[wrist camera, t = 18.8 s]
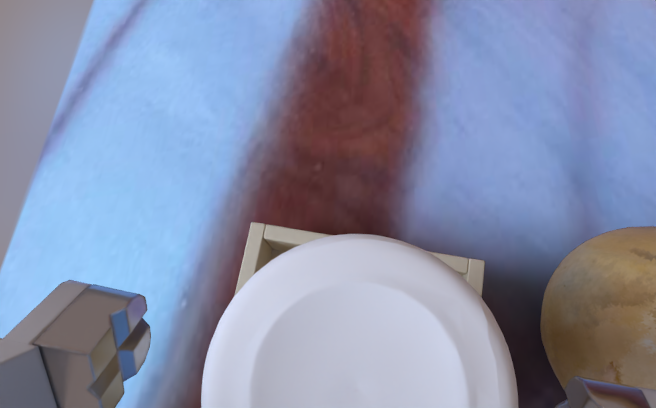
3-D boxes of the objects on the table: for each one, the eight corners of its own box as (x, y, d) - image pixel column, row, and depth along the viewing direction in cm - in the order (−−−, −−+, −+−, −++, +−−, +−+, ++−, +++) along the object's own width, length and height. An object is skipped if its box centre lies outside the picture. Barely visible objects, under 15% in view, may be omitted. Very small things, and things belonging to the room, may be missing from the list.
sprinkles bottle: (318, 281, 20) (262, 188, 7) (420, 316, 19) (561, 283, 6) (282, 387, 19) (136, 507, 6) (388, 427, 18) (483, 657, 5)
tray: (219, 452, 19) (192, 475, 16) (265, 237, 21) (251, 221, 18) (441, 500, 18) (460, 535, 15) (464, 271, 21) (485, 260, 17)
